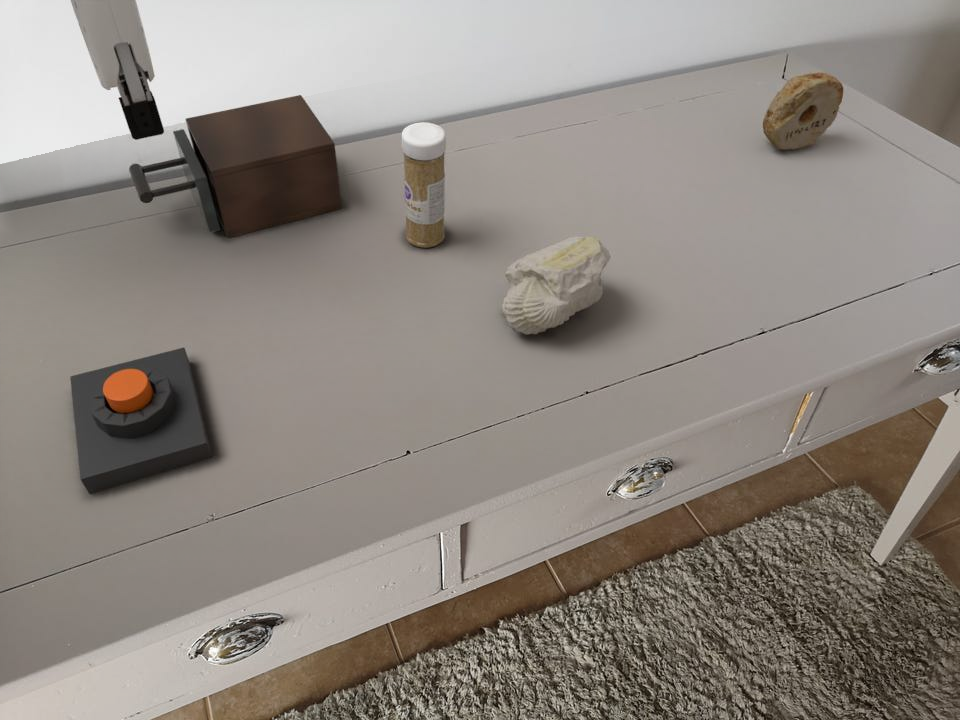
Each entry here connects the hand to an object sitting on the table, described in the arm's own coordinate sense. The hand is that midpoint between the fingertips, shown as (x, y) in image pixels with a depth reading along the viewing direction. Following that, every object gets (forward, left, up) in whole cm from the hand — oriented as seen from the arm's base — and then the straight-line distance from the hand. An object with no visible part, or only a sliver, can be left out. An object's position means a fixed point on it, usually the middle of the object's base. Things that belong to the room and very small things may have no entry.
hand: (147, 132), depth 81 cm
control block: (+12, -27, -11) cm, 32 cm away
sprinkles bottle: (+28, +6, -12) cm, 31 cm away
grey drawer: (+5, +4, -10) cm, 12 cm away
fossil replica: (+44, -2, -12) cm, 46 cm away
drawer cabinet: (+8, +8, -11) cm, 16 cm away
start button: (+12, -27, -8) cm, 31 cm away
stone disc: (+69, +40, -12) cm, 81 cm away
